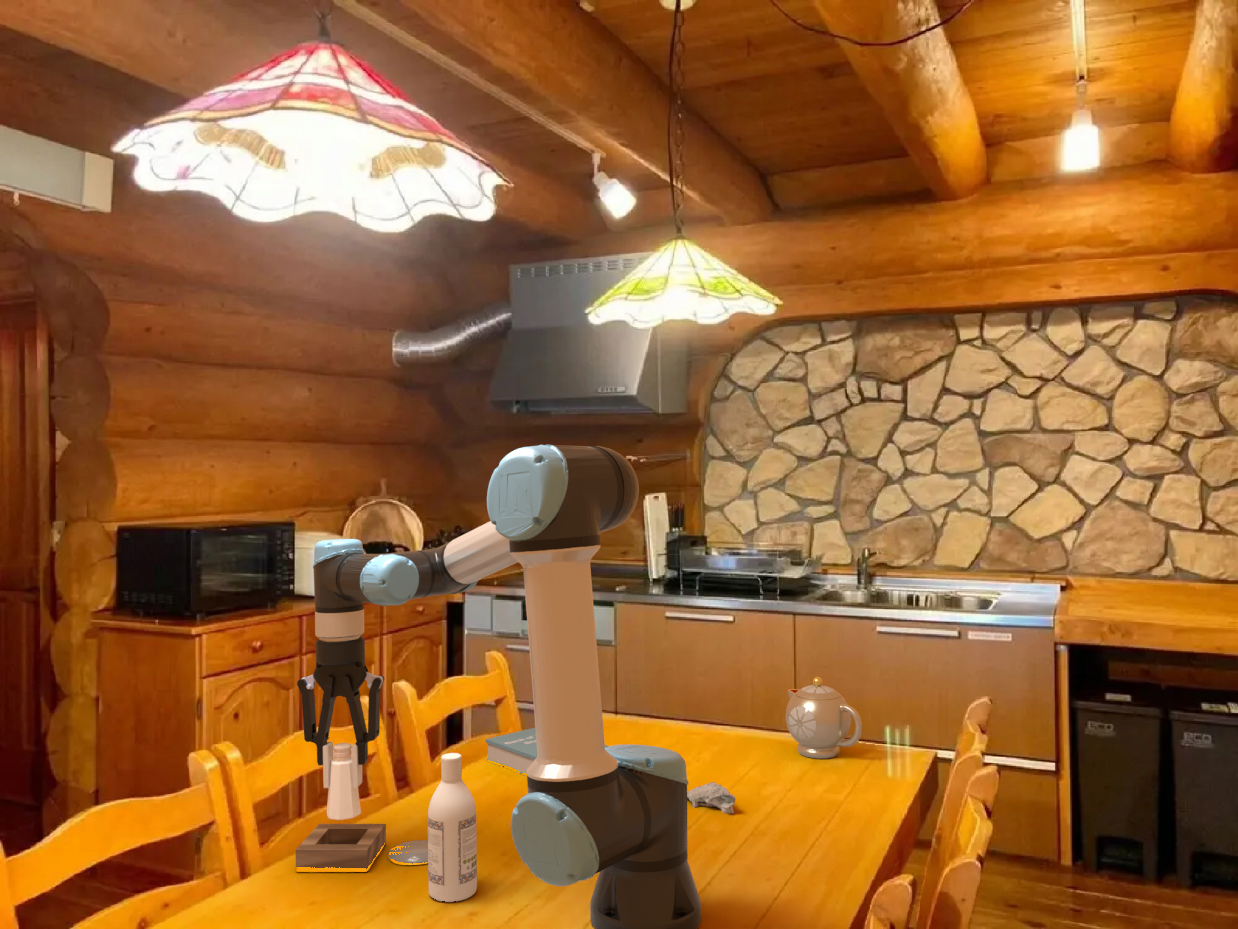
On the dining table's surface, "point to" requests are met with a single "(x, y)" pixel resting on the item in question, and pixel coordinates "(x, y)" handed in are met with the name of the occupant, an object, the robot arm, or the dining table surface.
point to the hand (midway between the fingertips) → (343, 784)
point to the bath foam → (452, 835)
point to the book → (514, 749)
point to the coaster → (411, 852)
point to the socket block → (341, 846)
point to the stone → (712, 797)
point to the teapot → (820, 720)
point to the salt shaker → (342, 786)
